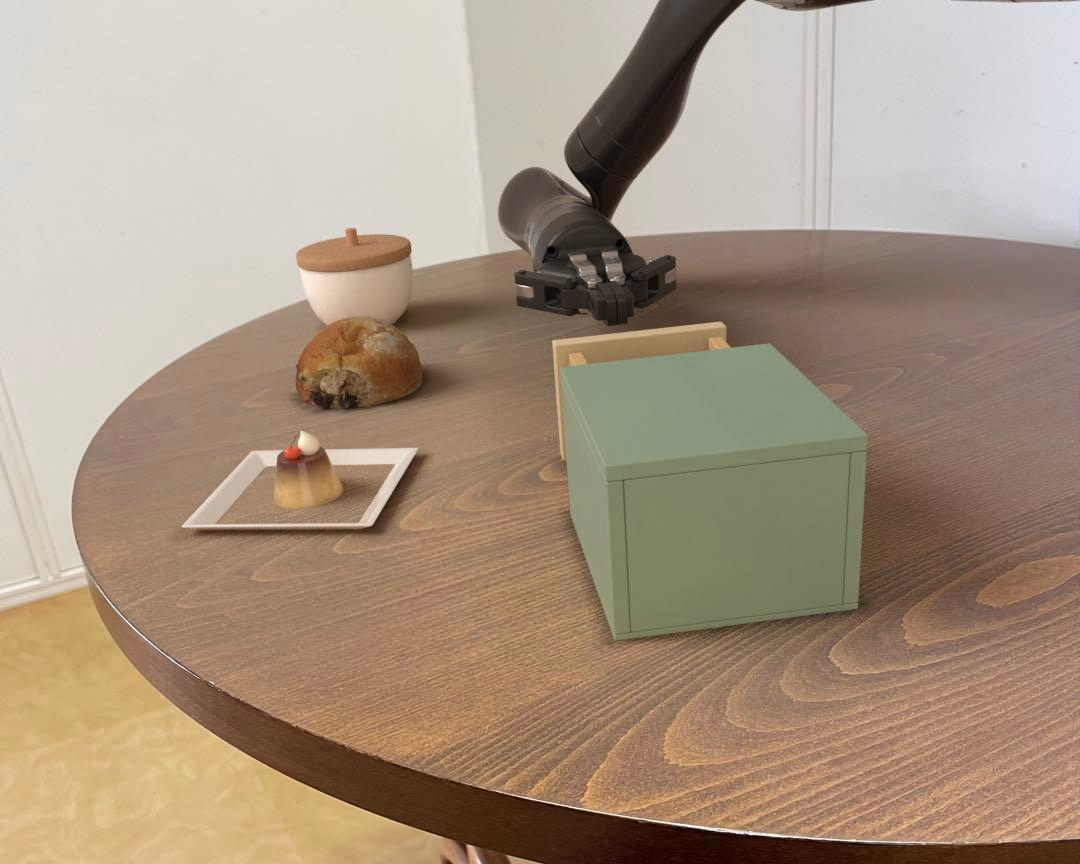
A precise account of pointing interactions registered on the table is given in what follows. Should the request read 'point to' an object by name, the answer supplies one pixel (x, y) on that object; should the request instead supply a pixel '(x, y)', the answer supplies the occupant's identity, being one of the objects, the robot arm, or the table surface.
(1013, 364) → the table surface
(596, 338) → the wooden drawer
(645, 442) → the cabinet
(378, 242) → the trinket box
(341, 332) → the bread roll
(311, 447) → the dessert
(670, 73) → the robot arm
